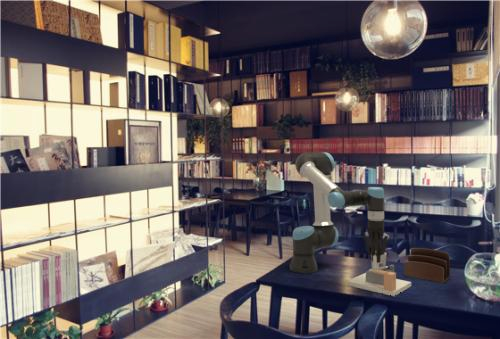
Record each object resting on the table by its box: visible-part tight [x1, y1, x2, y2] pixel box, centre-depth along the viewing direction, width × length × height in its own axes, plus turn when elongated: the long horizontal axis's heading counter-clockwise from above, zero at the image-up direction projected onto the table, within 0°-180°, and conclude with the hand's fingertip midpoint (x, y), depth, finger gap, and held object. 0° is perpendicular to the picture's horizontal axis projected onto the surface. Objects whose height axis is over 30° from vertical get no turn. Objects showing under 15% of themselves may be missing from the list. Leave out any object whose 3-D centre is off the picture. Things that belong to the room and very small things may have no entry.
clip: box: [374, 269, 397, 291], centre depth 199 cm, size 9×4×8 cm, turn 47°
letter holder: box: [403, 247, 451, 284], centre depth 222 cm, size 10×20×14 cm, turn 49°
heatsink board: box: [346, 263, 412, 297], centre depth 209 cm, size 24×19×9 cm
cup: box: [370, 251, 387, 269], centre depth 226 cm, size 8×8×12 cm
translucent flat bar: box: [368, 265, 389, 272], centre depth 209 cm, size 4×16×1 cm, turn 137°
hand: (376, 268), depth 206 cm, fingers closed
